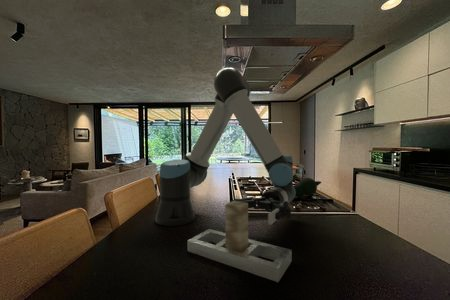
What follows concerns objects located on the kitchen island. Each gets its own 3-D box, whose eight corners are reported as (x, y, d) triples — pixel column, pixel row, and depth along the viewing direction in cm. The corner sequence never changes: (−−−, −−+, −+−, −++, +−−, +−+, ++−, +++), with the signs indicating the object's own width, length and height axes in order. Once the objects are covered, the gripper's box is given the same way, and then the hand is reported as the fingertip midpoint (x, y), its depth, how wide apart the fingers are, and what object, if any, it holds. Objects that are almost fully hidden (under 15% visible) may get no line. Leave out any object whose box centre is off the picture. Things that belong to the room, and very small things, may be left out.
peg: (225, 257, 58) (225, 204, 57) (234, 250, 61) (233, 200, 61) (240, 262, 55) (240, 206, 55) (248, 254, 59) (248, 203, 59)
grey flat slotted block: (187, 251, 61) (187, 240, 61) (209, 238, 70) (209, 228, 69) (278, 282, 47) (278, 268, 47) (291, 261, 55) (291, 249, 55)
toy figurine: (279, 203, 117) (326, 199, 118) (276, 167, 117) (323, 163, 117) (275, 199, 127) (318, 195, 127) (272, 166, 126) (315, 161, 127)
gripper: (310, 215, 73) (290, 238, 55) (244, 204, 87) (211, 220, 69) (310, 193, 73) (290, 208, 55) (243, 185, 87) (211, 196, 69)
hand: (246, 215), depth 62 cm, fingers open, 13 cm apart
